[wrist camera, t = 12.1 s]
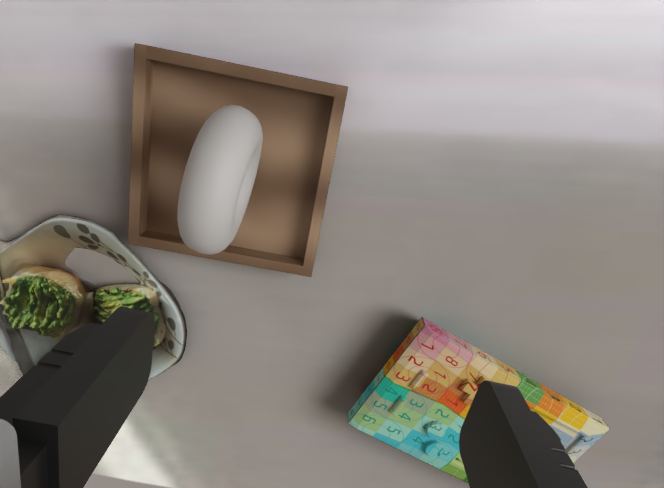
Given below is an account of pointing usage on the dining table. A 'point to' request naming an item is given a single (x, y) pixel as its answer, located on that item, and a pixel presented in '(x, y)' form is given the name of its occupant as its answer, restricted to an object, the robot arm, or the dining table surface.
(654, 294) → the dining table surface
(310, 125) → the display tray
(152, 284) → the salad plate
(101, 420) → the robot arm
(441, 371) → the puzzle game
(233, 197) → the white ring
